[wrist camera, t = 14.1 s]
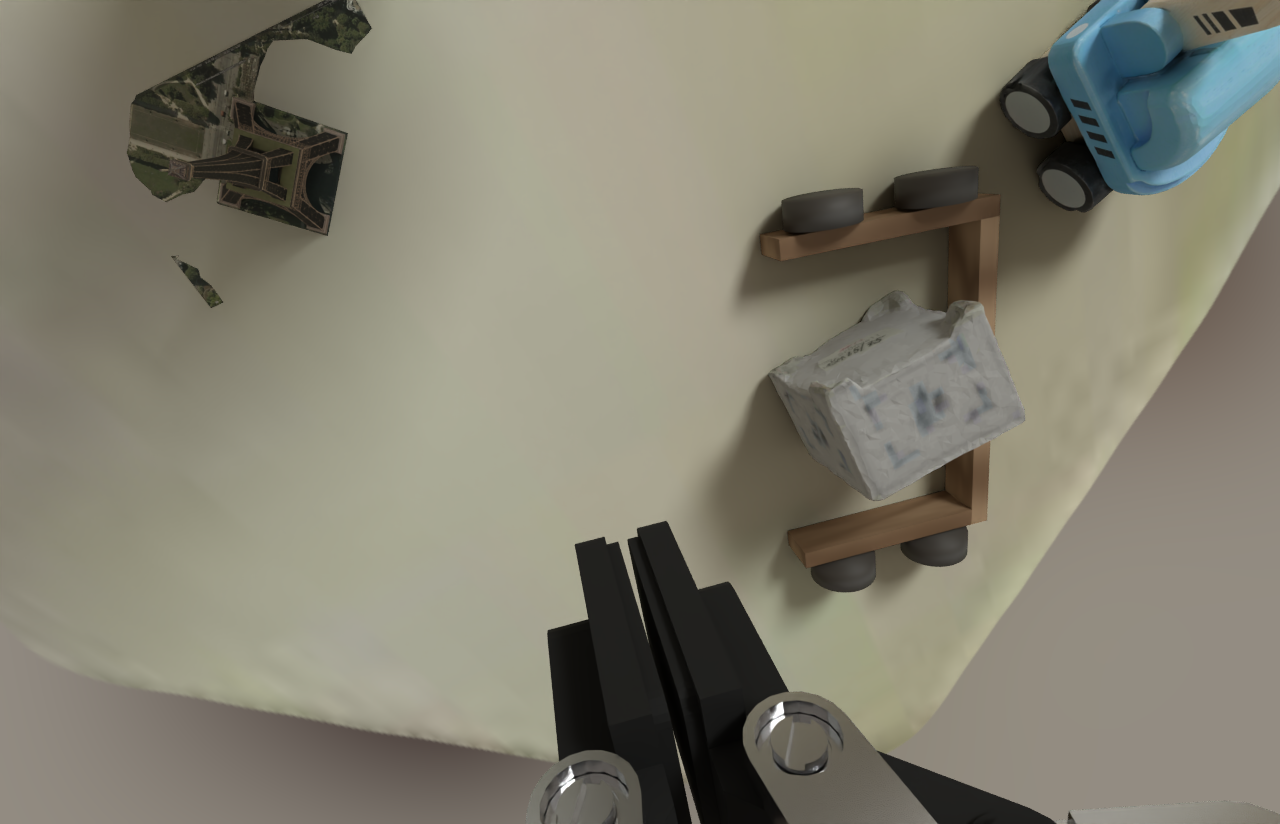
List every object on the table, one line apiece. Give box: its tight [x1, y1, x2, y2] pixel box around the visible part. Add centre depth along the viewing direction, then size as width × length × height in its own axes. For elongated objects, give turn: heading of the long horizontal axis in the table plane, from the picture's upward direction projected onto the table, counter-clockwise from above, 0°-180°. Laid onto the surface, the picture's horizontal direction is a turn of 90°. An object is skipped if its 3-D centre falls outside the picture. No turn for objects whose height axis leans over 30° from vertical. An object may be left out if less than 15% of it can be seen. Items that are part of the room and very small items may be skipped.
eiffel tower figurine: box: [127, 0, 371, 308], centre depth 27 cm, size 15×10×13 cm
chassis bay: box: [760, 166, 1001, 592], centre depth 42 cm, size 26×14×4 cm, turn 10°
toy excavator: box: [1000, 0, 1280, 212], centre depth 31 cm, size 9×17×17 cm, turn 42°
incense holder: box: [768, 291, 1025, 501], centre depth 38 cm, size 10×8×10 cm
